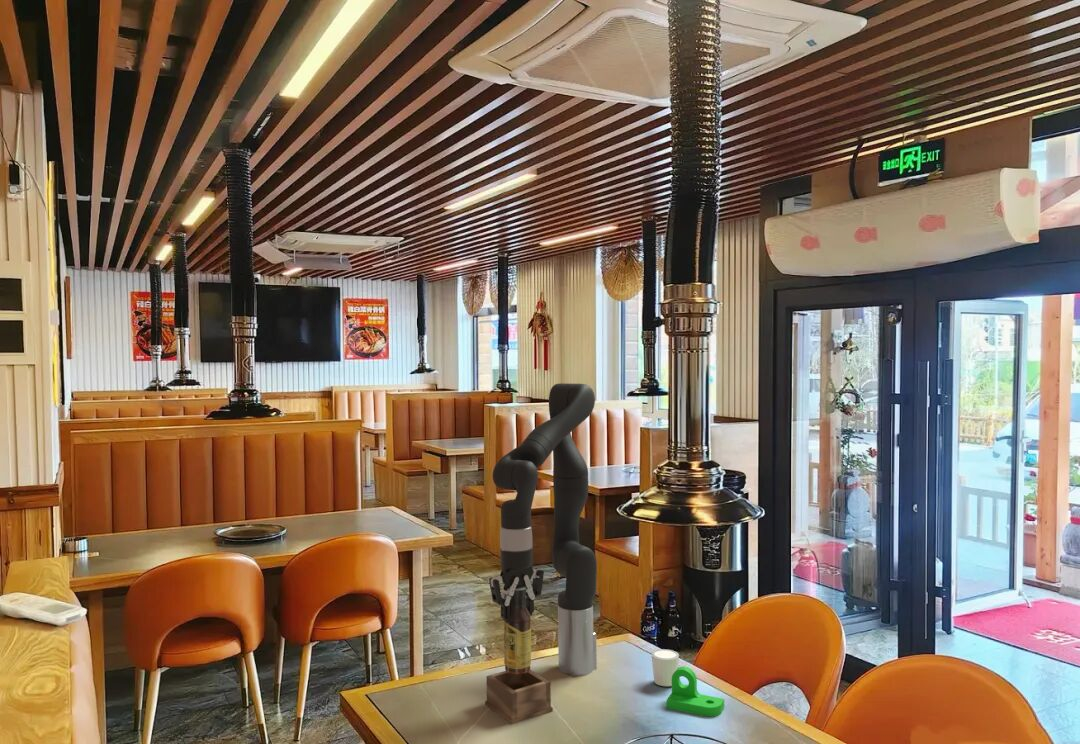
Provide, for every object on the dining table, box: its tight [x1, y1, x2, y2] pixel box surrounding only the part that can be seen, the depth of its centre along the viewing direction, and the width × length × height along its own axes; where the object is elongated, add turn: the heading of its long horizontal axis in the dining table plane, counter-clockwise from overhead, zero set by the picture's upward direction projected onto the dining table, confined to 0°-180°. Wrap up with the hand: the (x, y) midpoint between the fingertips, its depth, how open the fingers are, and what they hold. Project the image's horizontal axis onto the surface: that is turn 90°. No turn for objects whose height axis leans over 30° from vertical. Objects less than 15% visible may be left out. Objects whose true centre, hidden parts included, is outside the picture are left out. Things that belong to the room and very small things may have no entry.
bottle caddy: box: [484, 669, 554, 725], centre depth 181 cm, size 11×12×7 cm
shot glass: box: [651, 648, 680, 687], centre depth 195 cm, size 7×7×7 cm
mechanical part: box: [666, 666, 725, 717], centre depth 181 cm, size 12×6×8 cm, turn 63°
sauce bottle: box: [503, 586, 532, 675], centre depth 181 cm, size 6×6×20 cm
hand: (517, 617), depth 181 cm, fingers closed on sauce bottle, 5 cm apart
